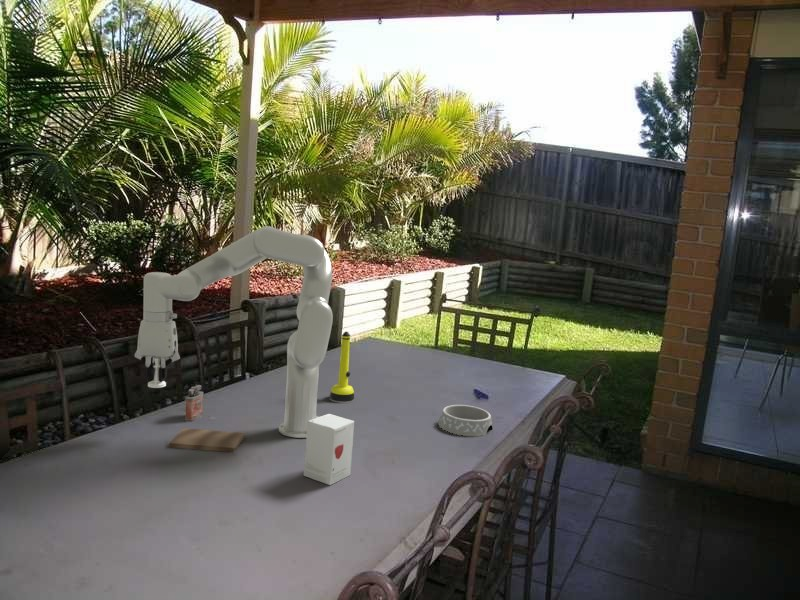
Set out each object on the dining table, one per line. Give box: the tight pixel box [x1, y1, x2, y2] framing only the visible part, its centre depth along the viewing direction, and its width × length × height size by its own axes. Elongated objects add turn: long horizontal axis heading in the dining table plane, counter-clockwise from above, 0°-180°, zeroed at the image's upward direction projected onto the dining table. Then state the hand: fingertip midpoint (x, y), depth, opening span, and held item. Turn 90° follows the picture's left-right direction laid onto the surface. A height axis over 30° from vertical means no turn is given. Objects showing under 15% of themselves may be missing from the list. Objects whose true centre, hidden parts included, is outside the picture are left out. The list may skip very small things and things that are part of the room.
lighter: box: [184, 384, 204, 423], centre depth 202 cm, size 8×3×10 cm, turn 168°
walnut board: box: [168, 427, 246, 453], centre depth 184 cm, size 18×12×1 cm, turn 90°
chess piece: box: [147, 357, 167, 389], centre depth 183 cm, size 5×5×10 cm
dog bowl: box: [437, 404, 493, 437], centre depth 214 cm, size 17×18×5 cm
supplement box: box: [303, 413, 355, 486], centre depth 167 cm, size 9×9×15 cm
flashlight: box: [329, 331, 355, 404], centre depth 232 cm, size 25×9×9 cm
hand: (156, 379), depth 184 cm, fingers closed on chess piece
